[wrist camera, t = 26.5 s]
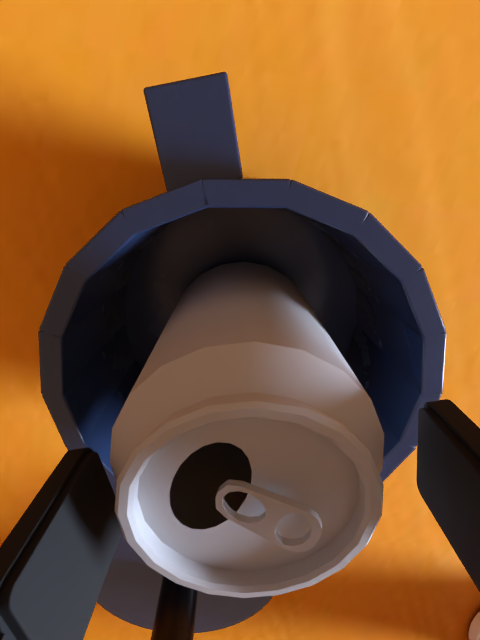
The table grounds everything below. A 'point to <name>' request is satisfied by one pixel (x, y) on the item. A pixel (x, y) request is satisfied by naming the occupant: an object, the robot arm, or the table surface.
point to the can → (247, 443)
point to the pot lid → (167, 600)
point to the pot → (223, 248)
